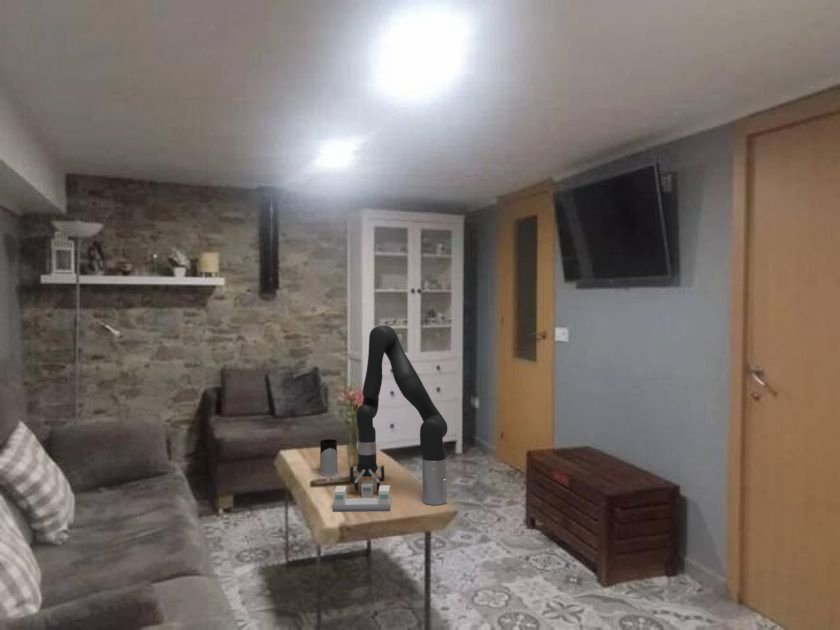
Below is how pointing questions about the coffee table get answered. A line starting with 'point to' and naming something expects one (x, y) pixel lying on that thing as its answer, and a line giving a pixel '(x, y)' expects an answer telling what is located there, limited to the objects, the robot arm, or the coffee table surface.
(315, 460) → the coffee table surface
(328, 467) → the glass holder
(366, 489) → the block
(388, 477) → the coffee table surface
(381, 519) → the coffee table surface
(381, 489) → the board
